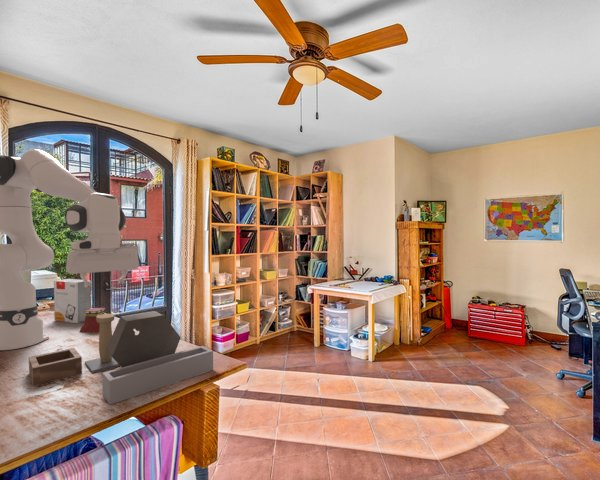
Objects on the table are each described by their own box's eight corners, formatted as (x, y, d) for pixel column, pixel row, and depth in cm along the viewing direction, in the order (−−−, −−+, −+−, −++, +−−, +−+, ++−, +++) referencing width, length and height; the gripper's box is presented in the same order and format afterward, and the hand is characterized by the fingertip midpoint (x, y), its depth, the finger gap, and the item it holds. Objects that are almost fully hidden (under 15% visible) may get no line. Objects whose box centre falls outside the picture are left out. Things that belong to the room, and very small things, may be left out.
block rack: (102, 395, 85) (102, 372, 85) (202, 364, 105) (202, 345, 105) (109, 404, 80) (109, 380, 80) (213, 370, 100) (213, 350, 100)
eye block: (29, 373, 98) (28, 357, 98) (74, 362, 106) (74, 347, 106) (33, 385, 90) (32, 368, 90) (81, 373, 98) (81, 357, 98)
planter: (181, 343, 111) (145, 298, 103) (190, 349, 105) (152, 301, 97) (136, 382, 102) (93, 336, 94) (144, 391, 96) (99, 343, 88)
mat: (84, 363, 105) (84, 361, 105) (118, 355, 112) (118, 353, 112) (92, 373, 98) (92, 370, 98) (127, 363, 105) (127, 361, 105)
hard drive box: (53, 321, 158) (52, 280, 157) (68, 317, 165) (68, 278, 165) (77, 323, 153) (76, 281, 153) (92, 319, 161) (91, 279, 160)
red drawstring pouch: (110, 326, 148) (110, 307, 148) (98, 332, 139) (98, 311, 139) (91, 326, 148) (91, 307, 148) (79, 332, 139) (78, 311, 139)
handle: (101, 366, 101) (100, 319, 101) (94, 361, 105) (93, 315, 105) (117, 361, 105) (117, 316, 105) (110, 356, 109) (109, 313, 109)
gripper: (135, 242, 114) (135, 281, 114) (64, 243, 100) (65, 287, 100) (141, 242, 109) (141, 283, 110) (68, 243, 95) (69, 290, 95)
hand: (104, 285), depth 105 cm, fingers open, 8 cm apart
